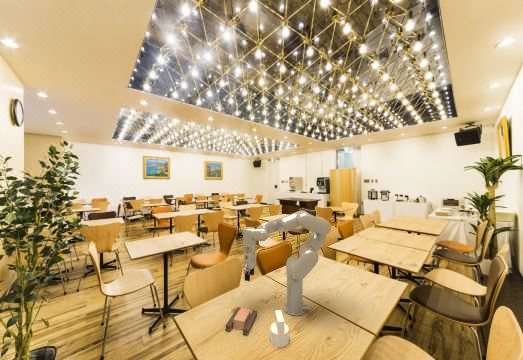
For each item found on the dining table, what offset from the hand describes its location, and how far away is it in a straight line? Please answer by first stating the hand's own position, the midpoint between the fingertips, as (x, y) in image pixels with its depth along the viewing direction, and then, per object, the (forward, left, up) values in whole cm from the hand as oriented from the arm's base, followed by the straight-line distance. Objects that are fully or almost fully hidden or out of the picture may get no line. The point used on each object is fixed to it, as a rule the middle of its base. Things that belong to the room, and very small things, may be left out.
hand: (249, 277), depth 127 cm
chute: (0, +12, -20) cm, 23 cm away
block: (0, +12, -20) cm, 23 cm away
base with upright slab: (-22, +18, -20) cm, 35 cm away
